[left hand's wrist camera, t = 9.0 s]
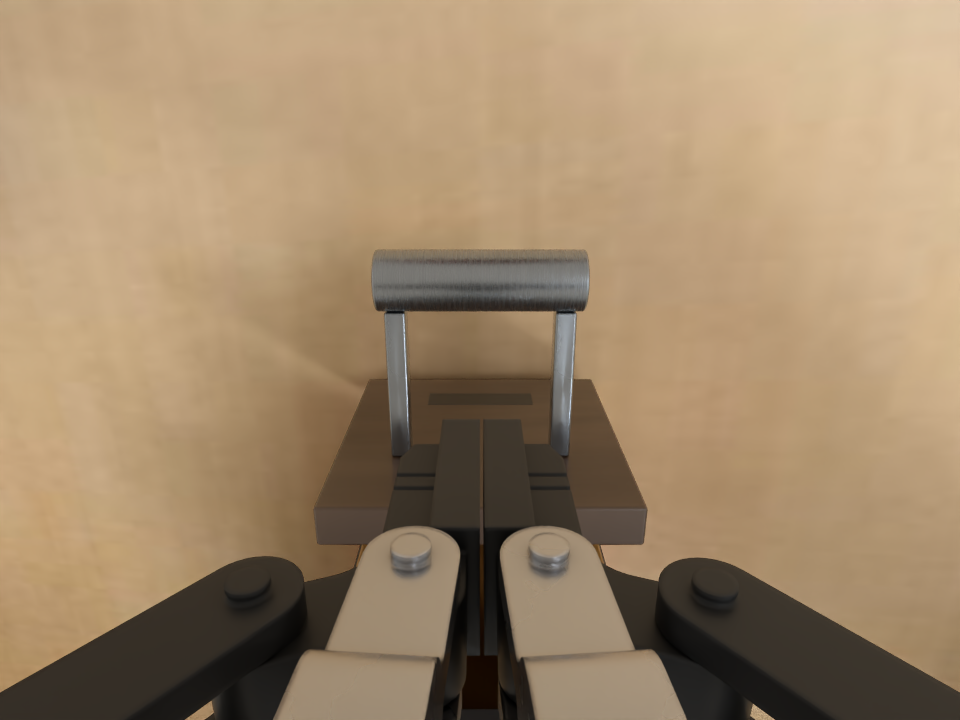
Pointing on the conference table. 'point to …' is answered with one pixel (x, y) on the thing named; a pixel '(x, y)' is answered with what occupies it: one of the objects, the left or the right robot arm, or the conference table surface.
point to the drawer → (479, 406)
